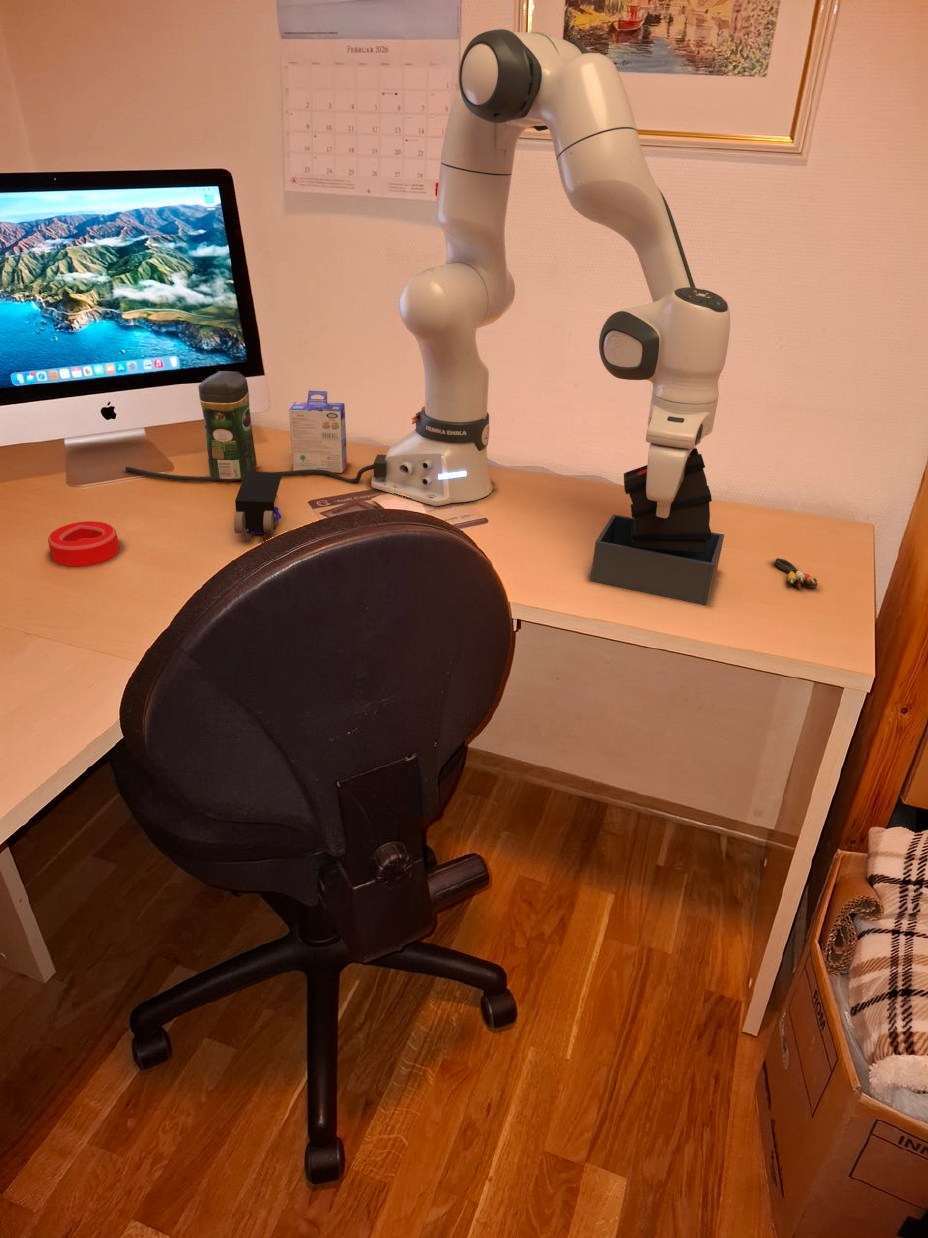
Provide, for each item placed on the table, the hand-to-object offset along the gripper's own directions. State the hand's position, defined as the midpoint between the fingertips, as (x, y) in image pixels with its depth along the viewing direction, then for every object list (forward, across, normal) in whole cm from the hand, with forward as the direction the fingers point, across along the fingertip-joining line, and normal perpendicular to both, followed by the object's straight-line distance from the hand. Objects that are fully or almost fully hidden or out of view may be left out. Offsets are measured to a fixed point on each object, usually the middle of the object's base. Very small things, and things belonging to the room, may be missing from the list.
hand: (666, 508), depth 124 cm
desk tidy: (+11, 0, 0) cm, 11 cm away
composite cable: (+12, -9, +20) cm, 25 cm away
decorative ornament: (+11, +30, -82) cm, 88 cm away
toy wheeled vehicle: (+11, +11, -63) cm, 65 cm away
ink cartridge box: (+11, -17, -68) cm, 71 cm away
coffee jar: (+11, -7, -81) cm, 82 cm away
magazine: (+6, 0, 0) cm, 6 cm away
